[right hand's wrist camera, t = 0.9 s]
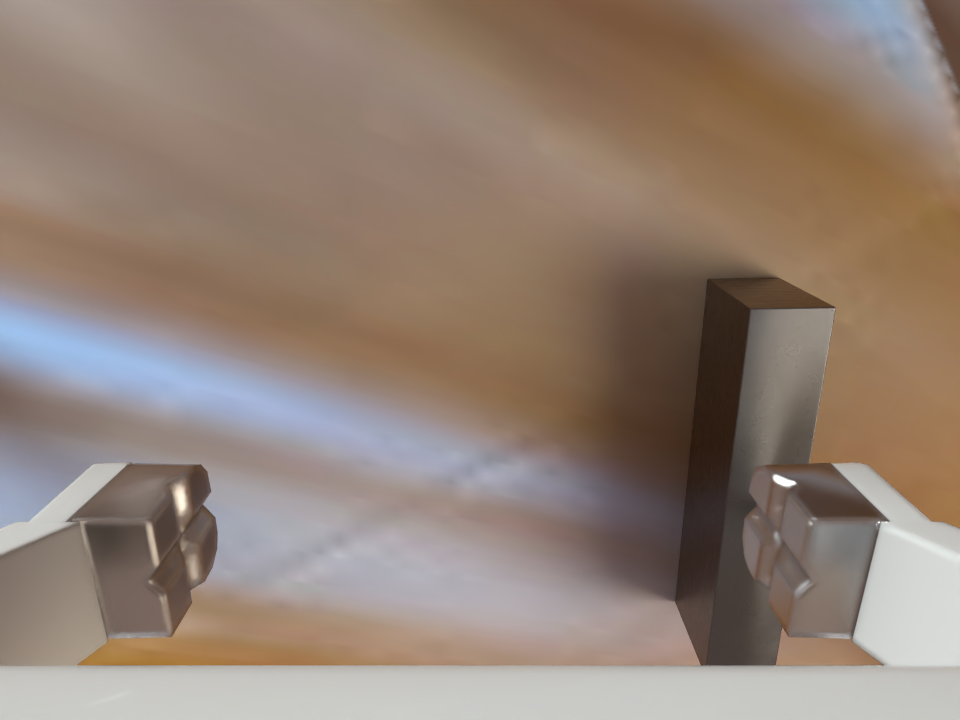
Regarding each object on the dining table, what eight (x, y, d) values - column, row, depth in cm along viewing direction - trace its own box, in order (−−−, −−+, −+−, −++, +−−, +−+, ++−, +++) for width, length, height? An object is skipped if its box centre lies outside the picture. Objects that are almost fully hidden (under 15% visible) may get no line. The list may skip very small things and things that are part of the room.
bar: (707, 278, 46) (750, 308, 39) (779, 277, 46) (836, 307, 39) (675, 602, 56) (705, 675, 48) (735, 601, 56) (774, 674, 48)
